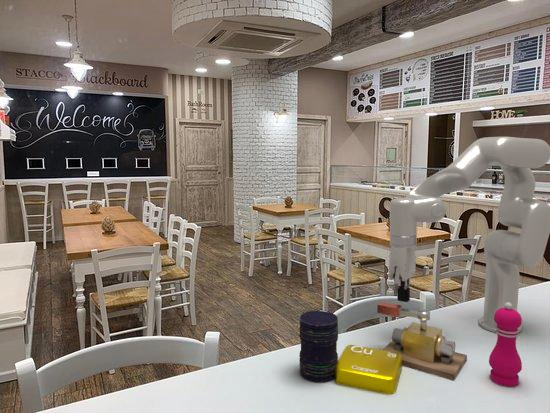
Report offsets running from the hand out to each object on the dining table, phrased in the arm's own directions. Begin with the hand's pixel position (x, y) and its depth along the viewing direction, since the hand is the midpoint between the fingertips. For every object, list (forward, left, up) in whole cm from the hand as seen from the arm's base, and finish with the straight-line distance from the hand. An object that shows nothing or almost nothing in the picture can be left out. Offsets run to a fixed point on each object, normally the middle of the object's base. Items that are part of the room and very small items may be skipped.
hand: (403, 300), depth 128 cm
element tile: (+24, 0, -13) cm, 28 cm away
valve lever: (+8, +3, -2) cm, 9 cm away
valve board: (+8, +9, -13) cm, 17 cm away
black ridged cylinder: (+31, -11, -13) cm, 35 cm away
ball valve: (+8, +9, -11) cm, 16 cm away
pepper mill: (+7, +29, -13) cm, 32 cm away
